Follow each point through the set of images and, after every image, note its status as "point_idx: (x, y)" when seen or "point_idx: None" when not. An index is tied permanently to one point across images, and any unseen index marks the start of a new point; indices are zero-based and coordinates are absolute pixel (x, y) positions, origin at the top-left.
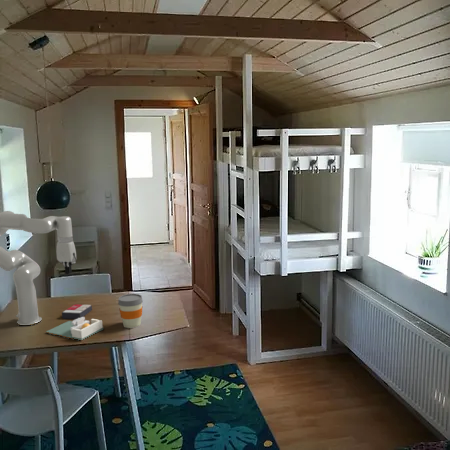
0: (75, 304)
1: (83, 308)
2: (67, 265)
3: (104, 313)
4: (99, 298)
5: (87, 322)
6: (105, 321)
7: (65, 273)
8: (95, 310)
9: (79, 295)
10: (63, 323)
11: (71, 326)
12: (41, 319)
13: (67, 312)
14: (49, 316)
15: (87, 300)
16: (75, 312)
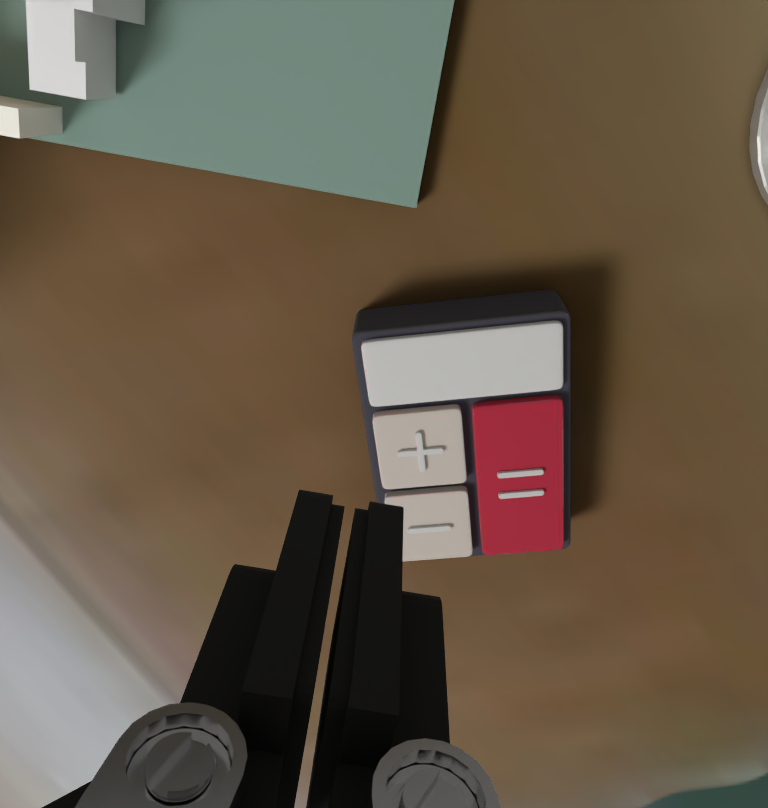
0: (555, 546)
1: (395, 458)
2: (181, 789)
3: (220, 481)
4: (479, 747)
5: (33, 52)
6: (74, 312)
7: (391, 509)
8: (347, 527)
9: (691, 777)
10: (428, 119)
11: (281, 57)
12: (759, 178)
13: (502, 326)
14: (726, 313)
15: (558, 701)
16: (407, 339)
